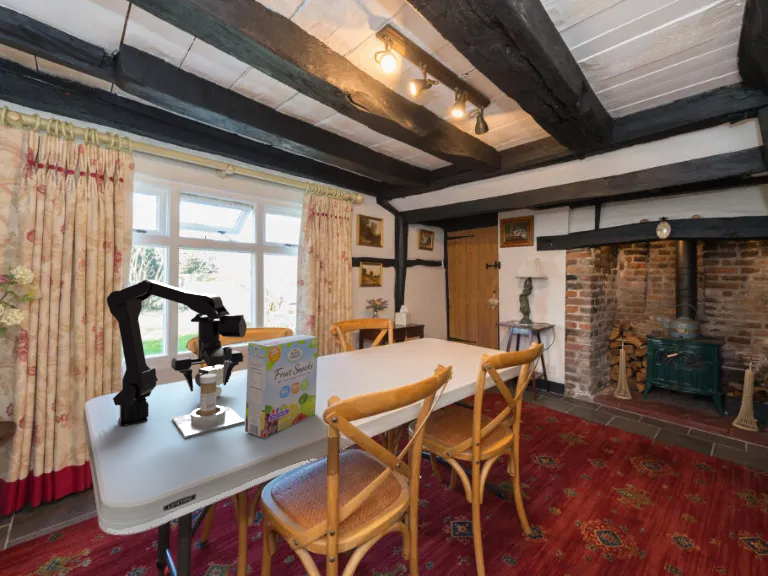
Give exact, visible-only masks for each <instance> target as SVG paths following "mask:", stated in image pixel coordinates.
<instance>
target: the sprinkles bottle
mask: <svg viewBox="0 0 768 576" xmlns="http://www.w3.org/2000/svg"><path fill="white" fill-rule="evenodd" d="M216 382H217V375H216V374H205V375H202V376H200V385H201V387H200V393H199V394H200V396H199V399H200V401H199V403H200V404H199V408H200V416H206V415H212V414H216V406H217V397H216Z"/></svg>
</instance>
